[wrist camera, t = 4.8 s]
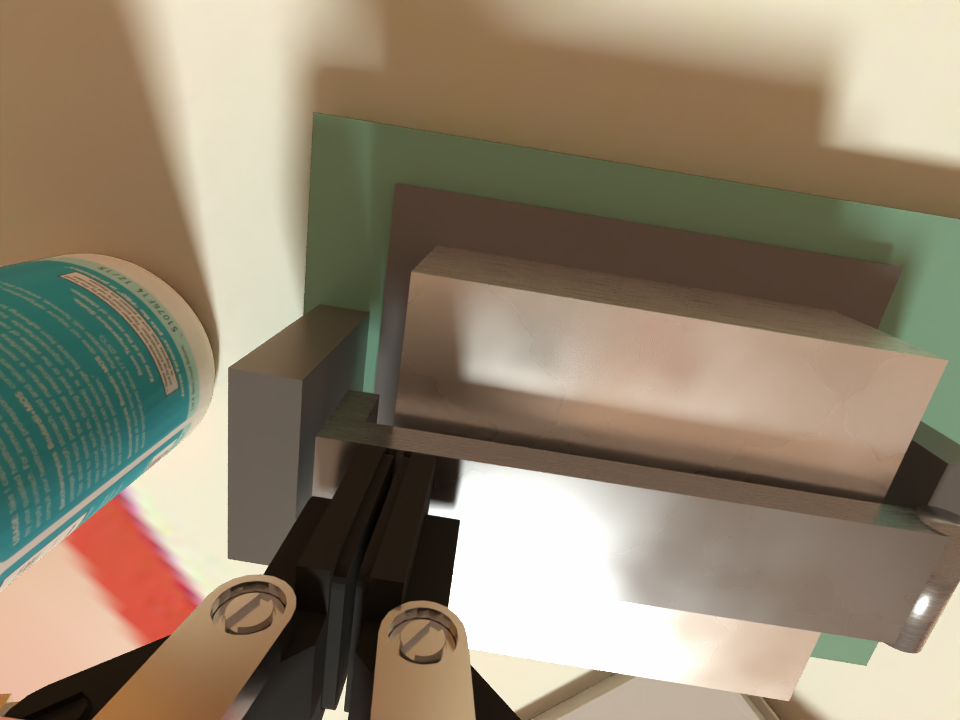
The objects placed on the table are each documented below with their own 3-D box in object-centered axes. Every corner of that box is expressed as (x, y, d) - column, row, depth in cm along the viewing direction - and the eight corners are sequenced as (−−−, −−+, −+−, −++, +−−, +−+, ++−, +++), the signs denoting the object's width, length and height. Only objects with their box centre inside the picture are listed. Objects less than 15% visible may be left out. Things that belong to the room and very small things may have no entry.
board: (1038, 234, 17) (1411, 279, 10) (843, 633, 22) (996, 847, 15) (330, 117, 17) (201, 79, 10) (304, 544, 22) (209, 717, 15)
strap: (910, 475, 14) (999, 542, 12) (862, 575, 15) (934, 656, 13) (349, 385, 14) (314, 434, 11) (340, 493, 15) (306, 559, 12)
